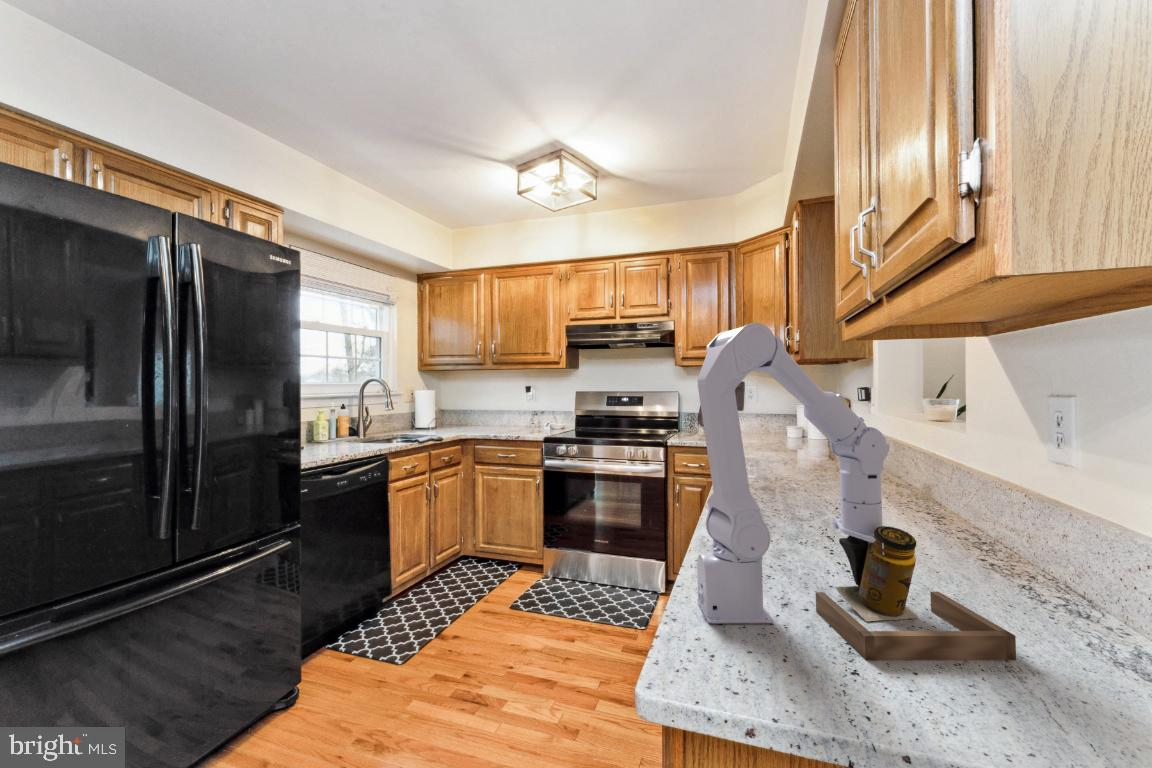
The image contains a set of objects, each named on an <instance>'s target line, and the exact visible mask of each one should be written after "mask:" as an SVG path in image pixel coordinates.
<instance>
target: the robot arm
mask: <svg viewBox="0 0 1152 768" xmlns="http://www.w3.org/2000/svg"><path fill="white" fill-rule="evenodd" d="M705 349H706V355H705V358H704V361H703V363H702V366H701V369H700V372H699V375H698V377H697V389H698V396H699V397H698V398H699V402H700V410H701V418H702V422H703V430H704V436H705V437H704V438H705V443H706V450H707V456H708V457H707V458H708V464H709V470H710V478H711V483H712V491H713V492H712V494H711V495H710V496H709V498H708V499H707V505H708V512H707V516H706V519H705V529H706V533H707V534H708V536H709V537H710V538H711V539H712V543H713V544H712V551H711V552H706V553H701V554H699V555H698V556H697V565H696V568H697V599H696V601H697V603H698V605H699V606H700V607H699V608H700V609H701V611H702V613H703V615H704V617H705V619H706V621H707V623H709V624H773V623H774V618H773V617H772V616H771V615H770V614H769V612H768V611H767V610H766V608H764V591H763V590H764V588H763V586H764V585H763V556H764V555H765V554H766V553H767V551H768V550H769V547H770V544H771V533H770V529H769V528H768V526H767V524H766V523H765V522H764V519H763V517H762V513H761V507H760V505H759V504H758V502H757V501H756V499H755V498H754V497H753V495H752V493H751V491H750V484H749V478H748V477H749V476H748V470H747V464H746V458H745V450H744V445H743V444H744V443H743V436H742V430H741V424H740V423H741V422H740V416H739V410H738V403H737V396H736V389H737V387H738V386H739V385H740V384H741V383H742V381H743V380H744V379H745V378H746V377H747V376H748V375H749V374H750V373H751V372H757V373H763V374H767V375H769V376H770V377H771V378H773V380H774V381H775V382H777V383H778V384H779V385H781V386H782V387H783V388H784V389H785V390H786V391H787V392H788V393H790V394H791V395H792V396H793V397H794V398H796V400H797V401H798V402H800V403H801V404H802V405H803V416H804V417H805V418H806V419H807V421H809V422H810V424H812V425H813V426H814V427H815V429H817V430H818V431H819V432H820V434H822V435H823V436H824V437H825V439H827V440H828V441H829V443H828V444H829V447H830V451H831V452H832V454H834V455H835V456H837V457H838V461H839V462H838V463H839V464H838V465H839V466H838V467H839V490H840V491H839V493H840V494H839V497H840V515H838V516H837V515H833V516H832V528H834V529H839V530H840V532H841V533H842V534H844V535H847V537H841V538H839V539H838V541H839V544H840V545H841V547H842V549H843V551H844V553H845V556H846V558H847V560H848V562H849V564H850V565H849V566H850V570H851V573H852V576H853V580H854V582H855V586H860V585H861V579H862V574H863V570H864V565H865V560H866V555H867V550H868V545H869V544H870V543H873V542H874V541H876V540H875V538H873V537H874V531H875V530H876V528H878V527H880V526H883V509H882V508H883V506H882V505H883V503H882V471H884V463H885V462H884V461H885V459H886V458H887V457H888V455H889V452H890V447H891V446H890V444H889V443H887V440H886V438H885V435H883V433H882V431H880V430H879V429H878V428H875V427H872V426H867V425H866V423H865V419H864V418H863V417H862V416H861V415H857V414H856V413H855V412H854V410H852V409H851V407H849V406H848V405H847V404H846V403H845V401H846V398H845V397H844V395H842V394H840V393H838V394H837V393H835V392H833V391H823V390H821V388H820V387H819V386H818V385H817V383H815V382H814V381H813V380H812V378H810V376H809V375H808V373H807V372H806V371H805V370H804V369H803V368H802V367H801V366H800V365H799V364H798V363H797V362H796V360H795V359H794V357H792V356H791V354H790V353H789V352H788V351H787V350H786V347H785V345H784V342H783V340H782V339H781V338H780V337H778V336H777V335H774V333H773V331H772V330H771V329H770V328H769V327H768V326H767V325H765V324H763V323H759V322H752V323H748V324H745V325H744V326H740V327H737V328H733V329H731V330H730V329H728V330H724V331H721V332H720V333H718V334H716V336H715V337H714V338H713V339H712V340H711V341H710V342H709V343H708V344H707V345H706V348H705ZM882 548H883V549H884V543H882ZM883 555H885V554H884V552H883Z"/></svg>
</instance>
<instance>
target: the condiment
mask: <svg viewBox="0 0 1152 768" xmlns="http://www.w3.org/2000/svg"><path fill="white" fill-rule="evenodd" d="M873 538H875V540H876V541H874V542H873V543H870V544H869V545H868V550H867V555H866V560H865V565H864V570H863V574H862V579H861V585H860V586H858V585H852V586H850V585H849V586H835V587H834V588H835V590H837V592H838V593H839V595H841V596H842V598H843V600H845V601H846V602H847V603H848V604H849V605H850V606H851V608H852V609H853V610H854V611H855V612H857V614H858V615H859V616H860V617H861V618H862V619H863V620H864V621H865V622H877V621H885V620H886V621H889V620H891V621H892V620H895V621H896V620H904V619H905V620H907V619H908V620H909V619H916V618H920V616H919V615H917V614H916V613H915V612H914V611H913V610H912V609H911V608H910V607H908V606H907V605H906V604H907V600H908V596H909V592H910V587H911V584H912V579H913V575H914V570H915V567H916V559H917V558H916V556H915V553H916V547H917V540H916V539H915V537H914V536H913V535H912V534H911V533H909V532H908V531H905V530H903V529H901V528H897V527H894V526H889V525H888V526H886V525H882V526H880V527H878V528H876V530H875V531H874V537H873ZM882 543H884V549H883V548H882ZM883 552H884V554H885V555H883Z"/></svg>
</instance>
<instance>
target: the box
mask: <svg viewBox="0 0 1152 768" xmlns="http://www.w3.org/2000/svg"><path fill="white" fill-rule="evenodd" d="M929 592H930V593H929V594H930V611H931V612H930V613H933V614H934V615H936V616H938V617H939V618H940V619H941V620H944V621H945V622H947V623H949V624H950V625H951V626H953V627H954V628H956V629H958V630H868V629H867V628H866V627H865V626H864V625H863V624H861V623H860V622H859V621H857V620H856V619H855V618H854V617H853V616H852V615H850V613H849V612H847V611H846V610H845V609H844V608H842V607H841V606H840V605H839V604H838V603H837V602H835V600H833V599H832V598H831V597H830V596H829V595H827V593H825V592H823V591H816V592H815V613H816V614H817V615H819V616H820V617H821V618H822V619H823V620H824V621H825V622H826V623H827V624H828V625H829V626H830V627H831V628H832V629H833V630H834V631H835V632H836V633H837V634H838V635H839V636H840V637H841V638H842V639H844V641H845V642H846V643H847V644H848V645H849V646H850V647H852V649H854V651H856V653H857V654H858V655H860V656H861V657H862V659H863V660H865V661H1017V643H1016V640H1017V639H1016V635H1015V634H1013V633H1012V632H1010V631H1008V630H1006V629H1005V628H1003V627H1001V626H999V625H998V624H996V623H994V622H992V621H991V620H988V618H986V617H984V616H982V615H980V614H978V613H977V612H975V611H974V610H971V609H969V608H968V607H967V606H965V605H963V604H961V603H959V602H958V601H956V600H954V599H952V598H950V597H949V596H947V595H945V594H943V593H942V592H941V591H939V590H938V591H937V590H936V591H929Z"/></svg>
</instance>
